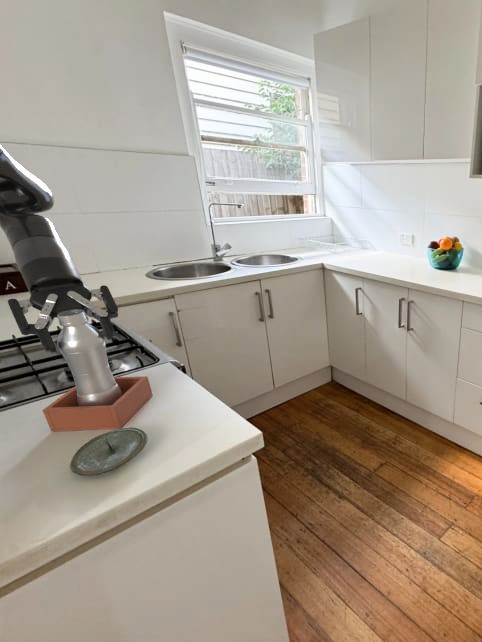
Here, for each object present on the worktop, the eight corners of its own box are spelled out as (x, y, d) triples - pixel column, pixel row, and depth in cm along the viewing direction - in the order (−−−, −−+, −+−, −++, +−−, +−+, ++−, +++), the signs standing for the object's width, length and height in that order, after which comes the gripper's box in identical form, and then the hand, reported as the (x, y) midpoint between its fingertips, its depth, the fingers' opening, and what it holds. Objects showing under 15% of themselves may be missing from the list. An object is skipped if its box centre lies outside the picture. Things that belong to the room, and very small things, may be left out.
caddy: (51, 431, 68) (42, 410, 67) (93, 397, 79) (86, 378, 77) (121, 428, 70) (113, 407, 68) (152, 395, 80) (147, 376, 79)
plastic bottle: (81, 408, 74) (44, 311, 66) (123, 396, 78) (93, 304, 70) (84, 423, 70) (44, 322, 62) (128, 410, 74) (97, 313, 66)
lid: (163, 447, 68) (159, 420, 67) (123, 475, 58) (118, 444, 57) (102, 450, 67) (98, 423, 66) (51, 478, 57) (46, 447, 57)
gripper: (-13, 261, 62) (24, 346, 60) (95, 250, 72) (131, 323, 70) (-3, 286, 67) (31, 365, 65) (97, 273, 77) (130, 341, 75)
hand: (83, 343), depth 68 cm, fingers open, 7 cm apart
